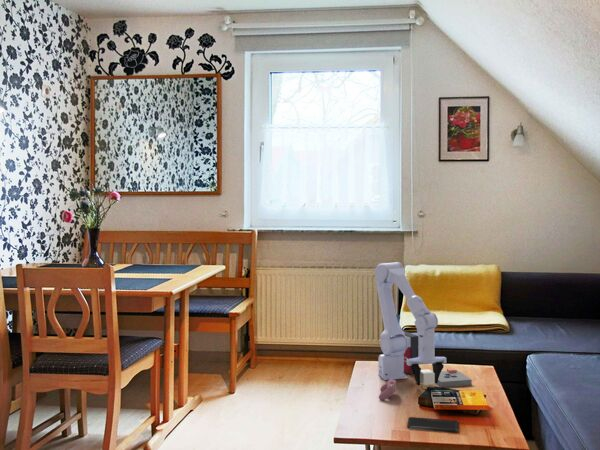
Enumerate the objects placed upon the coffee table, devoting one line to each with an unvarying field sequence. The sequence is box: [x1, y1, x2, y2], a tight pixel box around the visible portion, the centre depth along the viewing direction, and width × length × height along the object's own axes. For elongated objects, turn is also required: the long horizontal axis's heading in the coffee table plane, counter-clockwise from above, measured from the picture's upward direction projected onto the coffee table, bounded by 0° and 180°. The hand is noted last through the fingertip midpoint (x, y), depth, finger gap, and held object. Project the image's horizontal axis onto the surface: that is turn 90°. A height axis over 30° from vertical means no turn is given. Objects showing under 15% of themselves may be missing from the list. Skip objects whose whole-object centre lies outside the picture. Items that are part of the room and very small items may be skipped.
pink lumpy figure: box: [378, 379, 397, 401], centre depth 202 cm, size 10×5×7 cm, turn 169°
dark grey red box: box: [403, 330, 418, 376], centre depth 231 cm, size 11×4×15 cm, turn 25°
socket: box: [436, 368, 472, 388], centre depth 217 cm, size 12×12×3 cm
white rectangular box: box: [420, 368, 435, 390], centre depth 210 cm, size 4×5×6 cm
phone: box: [406, 416, 460, 434], centre depth 175 cm, size 8×1×15 cm
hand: (426, 383), depth 210 cm, fingers open, 6 cm apart
